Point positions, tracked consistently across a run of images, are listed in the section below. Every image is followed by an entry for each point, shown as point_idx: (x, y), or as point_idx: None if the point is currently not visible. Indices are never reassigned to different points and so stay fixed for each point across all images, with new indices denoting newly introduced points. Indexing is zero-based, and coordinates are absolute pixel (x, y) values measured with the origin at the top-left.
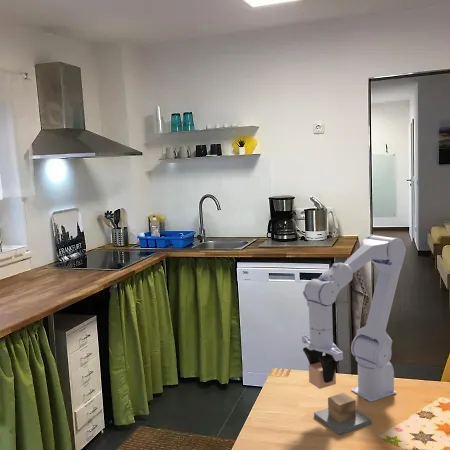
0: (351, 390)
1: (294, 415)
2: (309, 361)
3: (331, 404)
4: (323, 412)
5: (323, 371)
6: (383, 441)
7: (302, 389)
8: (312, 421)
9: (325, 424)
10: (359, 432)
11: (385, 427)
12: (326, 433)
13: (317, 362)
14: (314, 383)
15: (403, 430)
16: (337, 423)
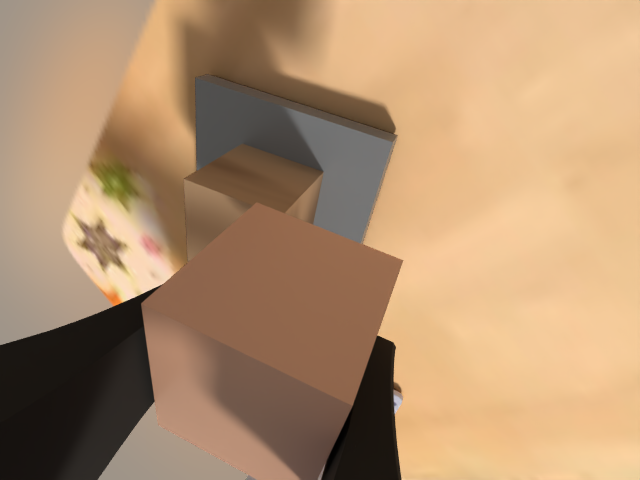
0: (400, 393)
1: (513, 66)
2: (374, 475)
3: (265, 191)
4: (355, 175)
5: (129, 323)
6: (117, 157)
7: (635, 344)
8: (378, 89)
9: (302, 105)
10: (190, 155)
11: (174, 235)
12: (255, 43)
13: (328, 474)
14: (317, 239)
15: (141, 248)
16: (245, 131)
